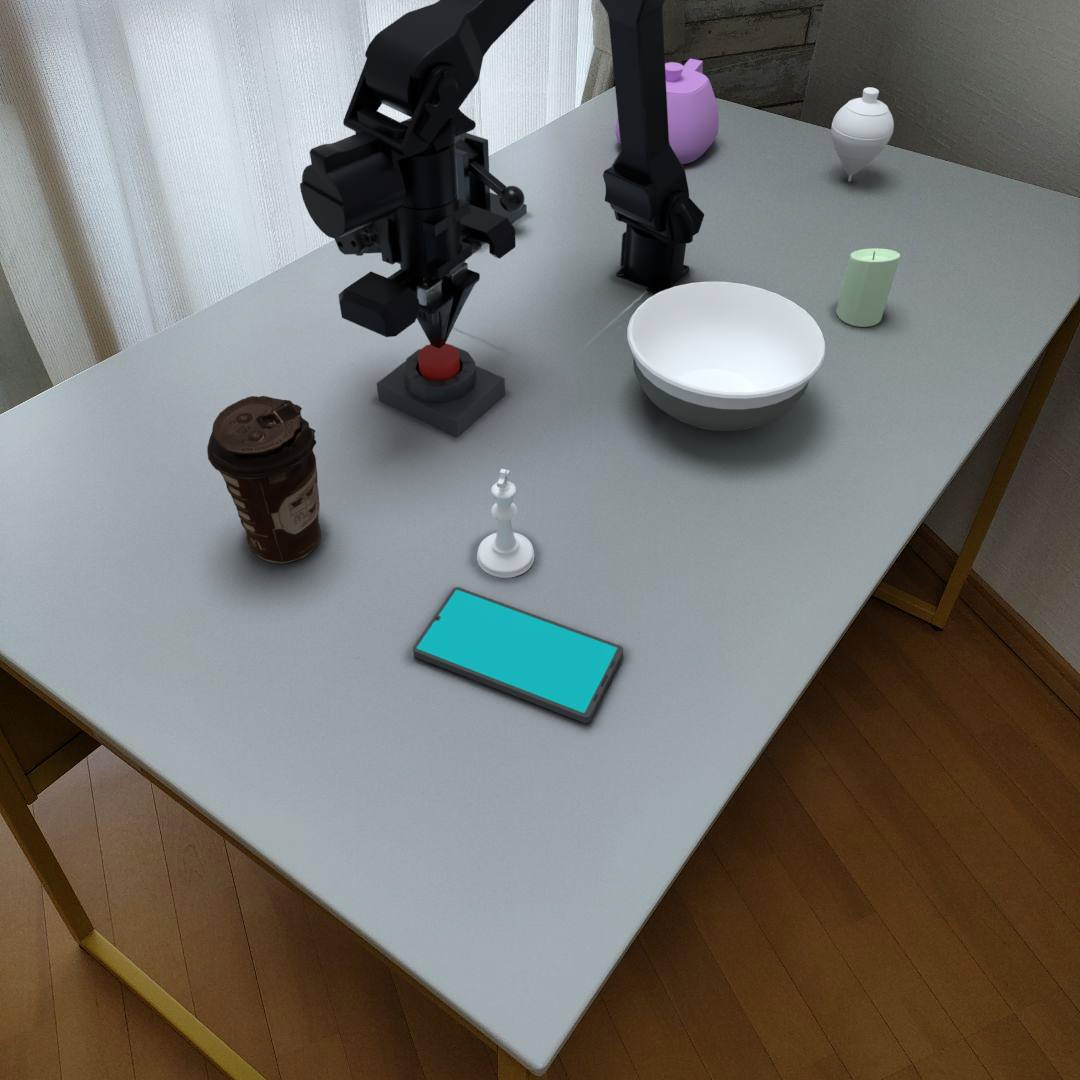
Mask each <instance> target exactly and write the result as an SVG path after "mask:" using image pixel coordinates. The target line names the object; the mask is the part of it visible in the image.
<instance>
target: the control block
mask: <svg viewBox="0 0 1080 1080" xmlns="http://www.w3.org/2000/svg"><path fill="white" fill-rule="evenodd" d="M427 345H428V344H425V345H424V346H423V347H425V346H427ZM453 346H454V345H453ZM454 347H455V348H456V349H457V350H458V352H459V359H460V371H459V373H458V374H457V375H456V376H455V377H453V378H449V379H446V380H429V379H427V378H424V377H423V376H422V375H421V374H420V371H419V362H418V353H419V351H420V350H421V349H422V348H419V349H417V350H416V351H414V352H413V353H412V354H410V355H409V356H408V357H406V359H405V361H403V363H401V364H400V365H398V366H397V367H396V368H395V369H393V370H392V371H391V372H390V373H388V374H387V375H386V376H384V377H383V378H382V379H380V380H379V381H378V382H376V390H377V397H378V402H381V403H383V404H385V405H386V406H390V407H391V408H393V409H395V410H397V411H400V412H402V413H404V414H407V415H408V416H410V417H412V418H415V419H417V420H419V421H421V422H423V423H425V424H427V425H430V426H432V427H434V428H436V429H439V430H441V431H443V432H445V433H447V434H449V435H451V436H453V437H456V438H458V437H459V436H461V435H462V434H463V433H465V431H466V430H468V428H470V427H471V426H472V425H474V423H475V422H476V421H478V420H479V419H480V418H481V417H482V416H483V415H484V414H486V413H487V412H488V411H489V410H491V408H492V407H494V406H495V405H496V404H497V403H499V401H501V400H502V399H503V398H504V397H505V396H506V378H505V377H503V376H501V375H499V374H496V373H494V372H492V371H489V370H487V369H484V368H483V367H480V366H478V365H476V361H475V360H474V358H473V357H472V355H471V354H470V353H469V352H468V351H467V350H464V349H462V348H459V347H457V346H454Z"/></svg>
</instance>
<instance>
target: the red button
mask: <svg viewBox="0 0 1080 1080" xmlns="http://www.w3.org/2000/svg"><path fill="white" fill-rule="evenodd" d="M426 345H427V346H426ZM426 345H424V346H425V347H424V346H423V347H422V348H420V349H421V350H420V351H419V353H418V362H419V371H420V374H421V375H422V376H423V377H424V378H427V379H429V380H446V379H449V378H453V377H455V376H456V375H457V374H458V373H459V371H460V359H459V352H458V350H457V349H456V348H455V347H456V346H455V347H454V345H452V344H450V343H447V342H446V343H445V345H444V346H442V347H441V348H440V349H439V348H436V347H434V346H432V345H431V344H430V343H429V344H426Z"/></svg>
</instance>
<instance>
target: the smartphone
mask: <svg viewBox="0 0 1080 1080" xmlns="http://www.w3.org/2000/svg"><path fill="white" fill-rule="evenodd" d="M412 651H413V656H414V658H417V659H419V660H421V661H425V662H427V663H429V664H432V665H435V666H437V667H440V668H442V669H445V670H447V671H450V672H453V673H455V674H457V675H461V676H462V677H465V678H467V679H471V680H472V681H476V682H477V683H481V684H484V685H486V686H489V687H491V688H494V689H496V690H498V691H501V692H504V693H506V694H509V695H512V696H514V697H517V698H519V699H522V700H525V701H526V702H529V703H532V704H534V705H537V706H540V707H542V708H545V709H548V710H550V711H552V712H555V713H557V714H560V715H563V716H566V717H567V718H570V719H574V720H576V721H578V722H581V723H583V724H588V723H590V722H591V720H592V718H593V717H594V714H595V713H596V710H597V708H598V706H599V705H600V702H601V701H602V698H603V697H604V694H605V692H606V690H607V688H608V686H609V684H610V682H611V681H612V679H613V676H614V675H615V673H616V670H617V668H618V667H619V664H621V663H620V662H621V661H622V658H623V656H624V648H623V646H622V645H620V644H616V643H614V642H611V641H608V640H605V639H603V638H599V637H597V636H594V635H592V634H589V633H586V632H583V631H581V630H577V629H576V628H573V627H569V626H566V625H564V624H562V623H558V622H556V621H552V620H550V619H547V618H545V617H542V616H538V615H536V614H534V613H530V612H528V611H526V610H522V609H519V608H518V607H514V606H511V605H509V604H506V603H503V602H501V601H497V600H494V599H492V598H489V597H487V596H484V595H481V594H478V593H476V592H473V591H470V590H468V589H465V588H462V587H454V588H452V590H451V591H450V593H449V594H448V596H447V597H446V599H445V600H444V602H442V604H441V606H440V608H438V610H437V611H436V613H435V615H434V616H433V617H432V619H430V622H428V625H427V626H426V628H425V629H424V630H423V632H422V634H421V635H420V636H419V637H418V639H417V640H416V642H415V643H414V646H413V647H412Z"/></svg>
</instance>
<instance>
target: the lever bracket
mask: <svg viewBox="0 0 1080 1080" xmlns="http://www.w3.org/2000/svg"><path fill="white" fill-rule="evenodd" d="M460 139H462V140H463V141H464V142H466V143H467V144H468V145H469V146H470V147H472V148H473V149H474V150H475V151H476V152H478V156H477V159H476V162H478V163H479V164H480V165H481V166H482V167H484V168H485V169H486V170H487V171H488V172H490V153H489V152H490V151H489V150H490V149H489V139H487V138H484V137H481V136H477V135H474V134H472V133H469V132H467V133H464V134H462V135H460V136H457V137H456V138H455V142H457V141H459V140H460ZM456 164H457V180H458V195H459V199H461V200H464V201H467V202H469V205H472V206H475V207H478V208H481V209H484V210H487V211H489V212H492V213H495V214H498V215H501V216H504V217H506V218H508V220H509V221H510V223H511V224H512V225H513V223H514V222H516V221H517V220H519V219H520V218H521V217H523V216H525V215H526V214H527V212H528V209H527V207H528V205H527V204H525V203H524V204H523V206H522V208H521V209H520V210H518V211H516V212H508V211H506V210H505V209H503V207H502V206H501V204H500V199H499V198H500V196H498V195H497V194H496V193H493V192H491V189H490V188H489V187H488V186H486V185H485V184H484V183H483V182H482V181H480V180H479V179H478V178H477V177H476V176H474V175H473V174H472V173H471V172H470V171H469V166H468V152H465V151H462V150H459V149H456ZM484 244H486V243H485V242H482V243H481V246H483V245H484Z"/></svg>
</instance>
